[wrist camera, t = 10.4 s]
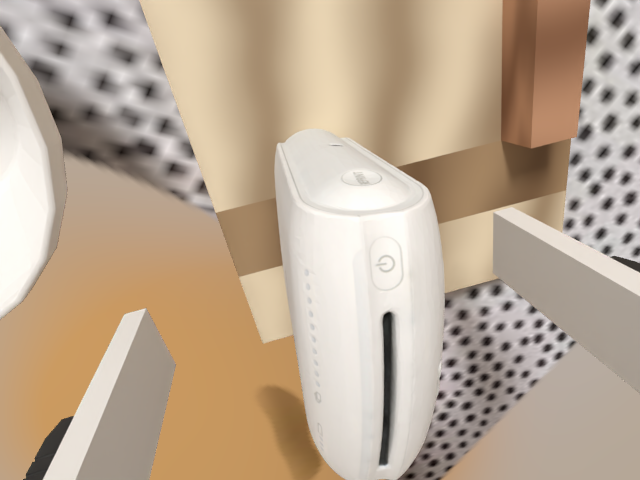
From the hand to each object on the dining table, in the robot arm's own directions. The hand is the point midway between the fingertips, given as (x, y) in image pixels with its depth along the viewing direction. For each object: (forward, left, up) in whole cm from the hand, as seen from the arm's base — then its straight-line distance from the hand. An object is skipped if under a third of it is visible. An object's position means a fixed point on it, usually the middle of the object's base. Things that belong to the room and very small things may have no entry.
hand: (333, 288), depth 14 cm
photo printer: (0, 0, -7) cm, 7 cm away
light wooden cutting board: (+5, +4, -8) cm, 11 cm away
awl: (+12, +9, -7) cm, 17 cm away
